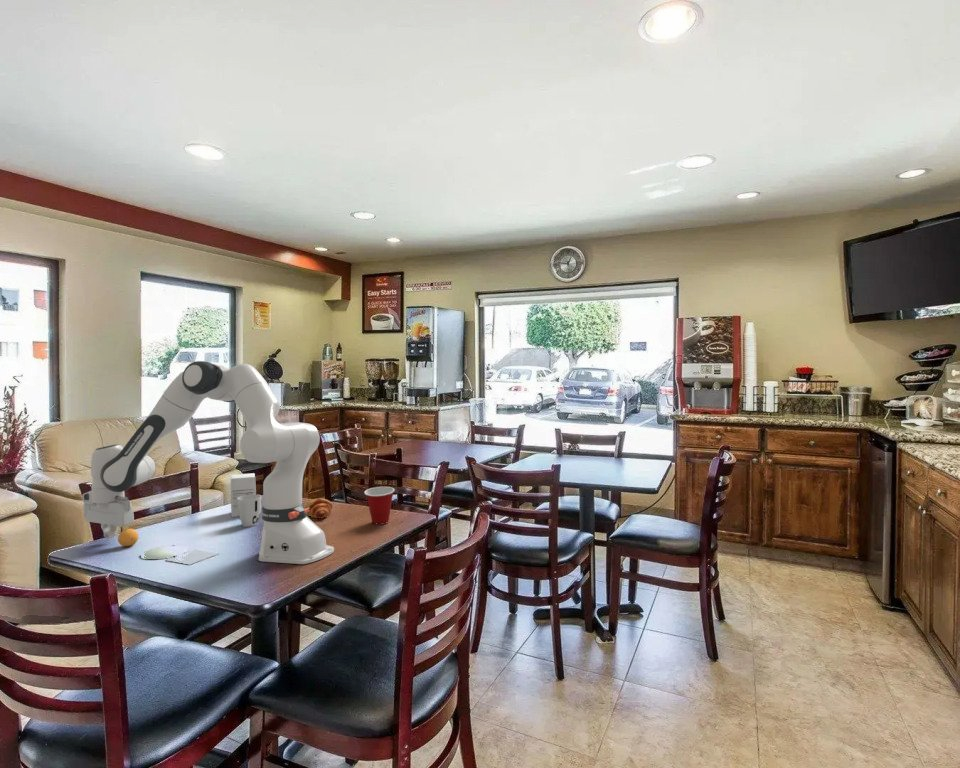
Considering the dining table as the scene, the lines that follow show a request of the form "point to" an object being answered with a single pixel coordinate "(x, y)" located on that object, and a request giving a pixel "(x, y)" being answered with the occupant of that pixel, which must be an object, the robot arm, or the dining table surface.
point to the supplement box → (241, 489)
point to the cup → (249, 509)
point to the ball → (128, 537)
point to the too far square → (194, 557)
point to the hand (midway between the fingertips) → (109, 537)
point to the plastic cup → (379, 503)
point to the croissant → (318, 508)
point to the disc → (158, 553)
